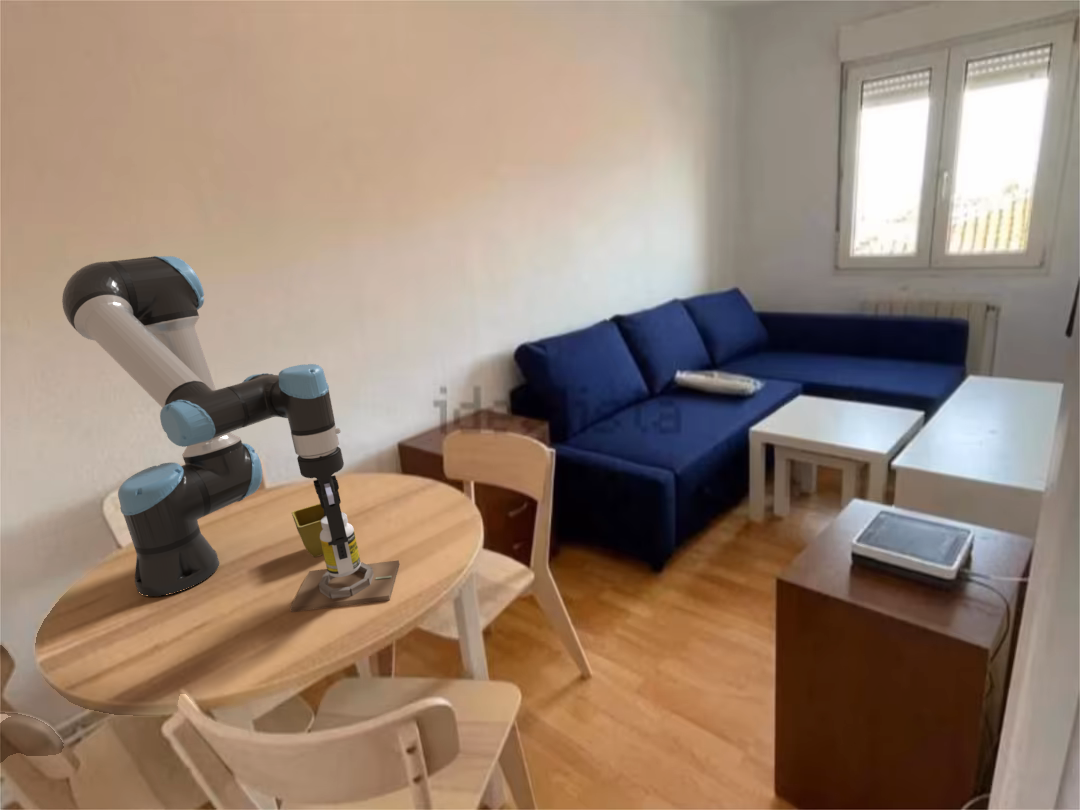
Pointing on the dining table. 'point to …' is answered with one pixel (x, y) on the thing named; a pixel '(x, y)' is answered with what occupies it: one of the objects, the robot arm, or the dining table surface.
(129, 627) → the dining table surface
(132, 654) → the dining table surface
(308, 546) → the flower pot
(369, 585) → the collar base
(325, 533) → the pill bottle
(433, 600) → the dining table surface
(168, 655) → the dining table surface
